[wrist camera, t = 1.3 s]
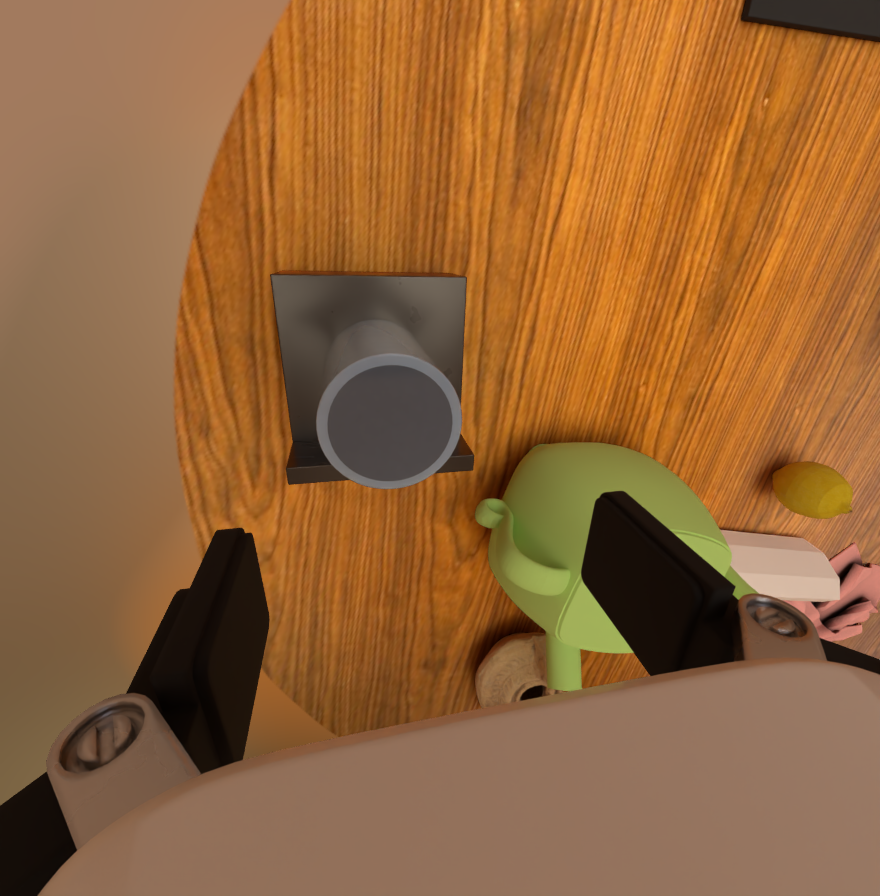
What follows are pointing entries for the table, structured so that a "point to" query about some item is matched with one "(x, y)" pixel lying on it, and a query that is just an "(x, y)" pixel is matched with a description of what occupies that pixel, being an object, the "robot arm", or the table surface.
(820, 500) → the fruit
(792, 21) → the mat
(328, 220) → the table surface
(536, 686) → the tan rounded lump
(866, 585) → the cloth
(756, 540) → the crystal
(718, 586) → the robot arm
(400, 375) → the blue cup
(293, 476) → the shelf
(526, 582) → the teapot
